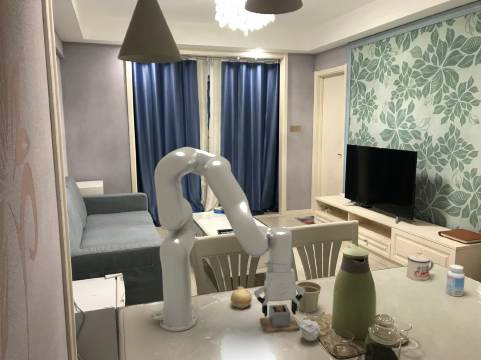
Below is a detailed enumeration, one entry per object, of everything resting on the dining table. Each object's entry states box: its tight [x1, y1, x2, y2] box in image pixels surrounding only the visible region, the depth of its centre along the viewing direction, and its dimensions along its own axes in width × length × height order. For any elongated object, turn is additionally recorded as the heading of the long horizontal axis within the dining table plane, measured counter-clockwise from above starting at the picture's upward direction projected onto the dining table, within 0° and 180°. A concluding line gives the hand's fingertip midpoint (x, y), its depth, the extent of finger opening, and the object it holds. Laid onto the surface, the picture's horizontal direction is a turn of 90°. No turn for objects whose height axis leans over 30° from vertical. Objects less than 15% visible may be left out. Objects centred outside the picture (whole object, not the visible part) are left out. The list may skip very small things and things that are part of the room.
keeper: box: [259, 306, 301, 334], centre depth 133 cm, size 12×8×6 cm, turn 97°
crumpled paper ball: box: [299, 318, 321, 342], centre depth 124 cm, size 6×7×7 cm
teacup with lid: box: [406, 250, 435, 282], centre depth 171 cm, size 12×9×12 cm
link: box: [268, 303, 291, 328], centre depth 133 cm, size 6×6×5 cm
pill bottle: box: [445, 264, 466, 297], centre depth 155 cm, size 6×6×11 cm
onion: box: [230, 285, 253, 309], centre depth 147 cm, size 8×8×7 cm
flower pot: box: [296, 280, 322, 313], centre depth 144 cm, size 9×9×9 cm
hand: (279, 313), depth 133 cm, fingers open, 9 cm apart
